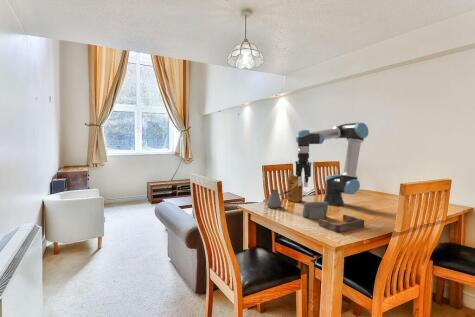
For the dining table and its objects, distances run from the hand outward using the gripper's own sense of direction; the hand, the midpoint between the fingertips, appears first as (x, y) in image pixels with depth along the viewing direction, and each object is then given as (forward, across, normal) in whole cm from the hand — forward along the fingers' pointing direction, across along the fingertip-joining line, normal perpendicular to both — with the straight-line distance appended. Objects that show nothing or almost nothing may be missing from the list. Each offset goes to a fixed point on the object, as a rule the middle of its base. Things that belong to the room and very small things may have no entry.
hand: (302, 186), depth 177 cm
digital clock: (+19, +12, 0) cm, 22 cm away
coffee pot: (+19, -18, -6) cm, 27 cm away
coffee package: (+19, -32, +21) cm, 43 cm away
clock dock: (+19, +32, 0) cm, 37 cm away
